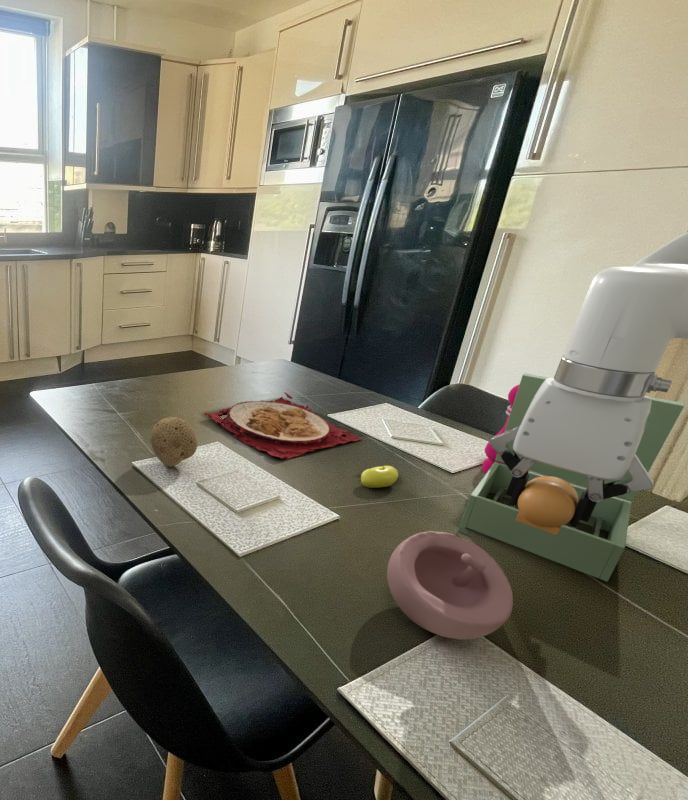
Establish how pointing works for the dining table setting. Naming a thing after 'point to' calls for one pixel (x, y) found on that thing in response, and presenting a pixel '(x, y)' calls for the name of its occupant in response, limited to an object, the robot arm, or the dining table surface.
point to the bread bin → (562, 548)
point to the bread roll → (547, 503)
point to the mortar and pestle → (449, 585)
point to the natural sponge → (173, 441)
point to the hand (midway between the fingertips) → (543, 510)
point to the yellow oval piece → (379, 476)
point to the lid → (647, 451)
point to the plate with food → (280, 427)
